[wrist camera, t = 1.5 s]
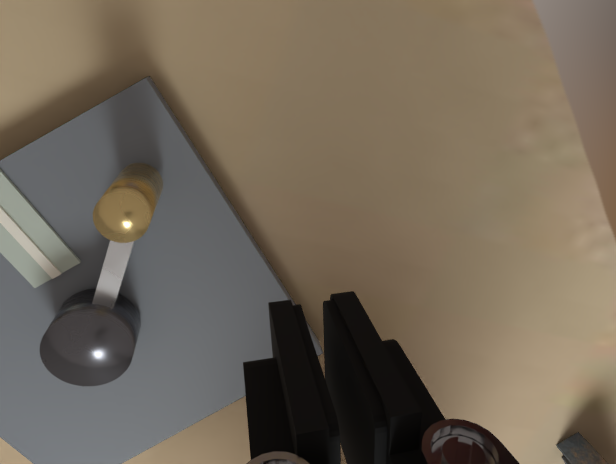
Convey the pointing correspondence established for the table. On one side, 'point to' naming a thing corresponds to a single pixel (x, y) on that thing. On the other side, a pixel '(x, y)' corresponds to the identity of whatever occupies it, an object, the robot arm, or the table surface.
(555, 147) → the table surface
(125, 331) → the lever
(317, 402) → the robot arm
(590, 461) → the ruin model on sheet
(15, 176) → the dial plate
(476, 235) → the table surface
